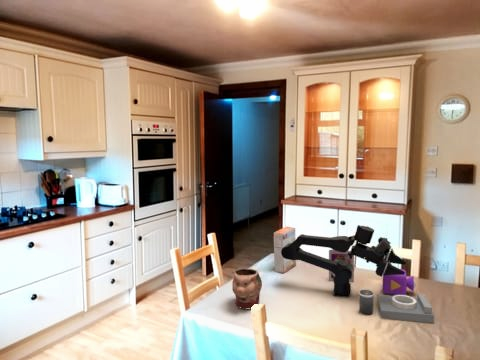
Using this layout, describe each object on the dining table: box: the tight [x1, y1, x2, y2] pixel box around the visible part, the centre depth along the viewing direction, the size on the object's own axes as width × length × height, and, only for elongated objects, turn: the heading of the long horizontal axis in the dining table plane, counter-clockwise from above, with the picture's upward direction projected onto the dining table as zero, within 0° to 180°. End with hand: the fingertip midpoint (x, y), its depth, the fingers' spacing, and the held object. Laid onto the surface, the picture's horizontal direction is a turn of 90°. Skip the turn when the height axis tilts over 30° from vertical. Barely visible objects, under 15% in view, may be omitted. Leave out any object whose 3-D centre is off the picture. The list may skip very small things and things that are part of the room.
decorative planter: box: [231, 268, 263, 309], centre depth 150 cm, size 20×12×14 cm, turn 170°
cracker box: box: [273, 226, 297, 274], centre depth 188 cm, size 14×6×21 cm, turn 145°
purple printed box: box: [328, 249, 355, 283], centre depth 173 cm, size 11×7×15 cm, turn 77°
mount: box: [376, 293, 435, 324], centre depth 140 cm, size 18×14×5 cm
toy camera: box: [382, 268, 417, 296], centre depth 158 cm, size 11×14×10 cm
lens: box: [358, 289, 374, 316], centre depth 140 cm, size 5×5×8 cm
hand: (405, 268), depth 145 cm, fingers open, 9 cm apart
